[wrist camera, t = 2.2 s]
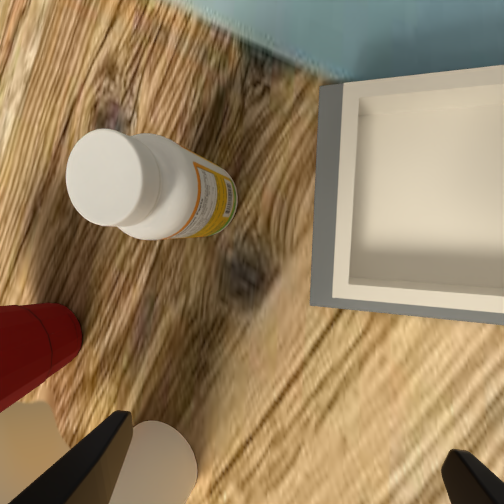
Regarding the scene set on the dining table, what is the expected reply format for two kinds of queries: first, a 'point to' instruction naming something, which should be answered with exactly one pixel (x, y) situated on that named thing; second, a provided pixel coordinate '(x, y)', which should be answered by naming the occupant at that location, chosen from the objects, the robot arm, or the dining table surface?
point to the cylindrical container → (156, 467)
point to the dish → (422, 191)
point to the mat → (327, 225)
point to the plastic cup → (34, 346)
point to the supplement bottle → (148, 186)
